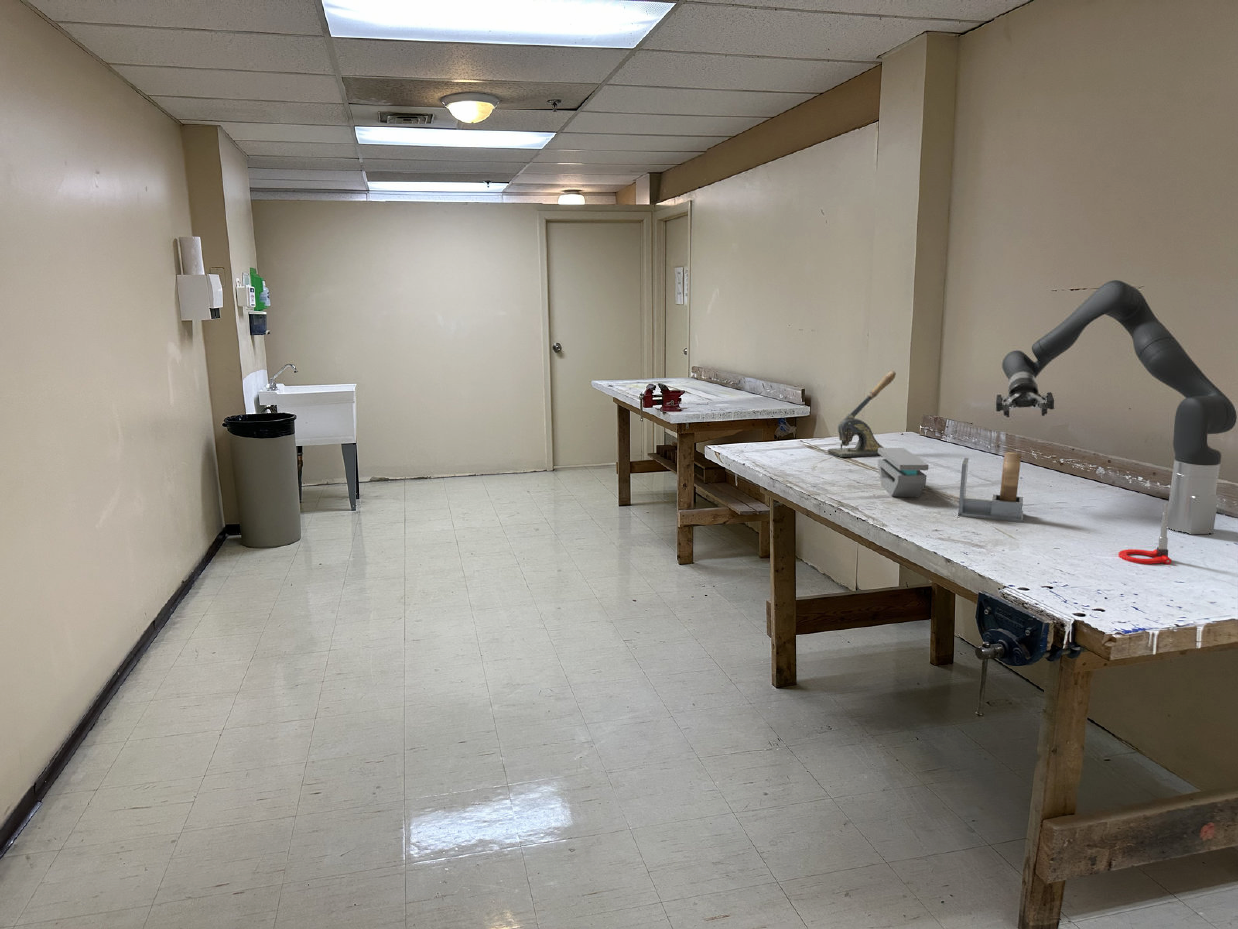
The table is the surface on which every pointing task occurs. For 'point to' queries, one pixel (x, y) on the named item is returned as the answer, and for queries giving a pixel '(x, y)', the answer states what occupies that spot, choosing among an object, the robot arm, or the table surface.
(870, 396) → the embossing press
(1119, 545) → the table surface
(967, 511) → the bracket
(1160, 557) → the tow hook
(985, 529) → the table surface
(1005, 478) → the tan wooden cylinder
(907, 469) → the grey lidded box
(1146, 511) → the table surface
